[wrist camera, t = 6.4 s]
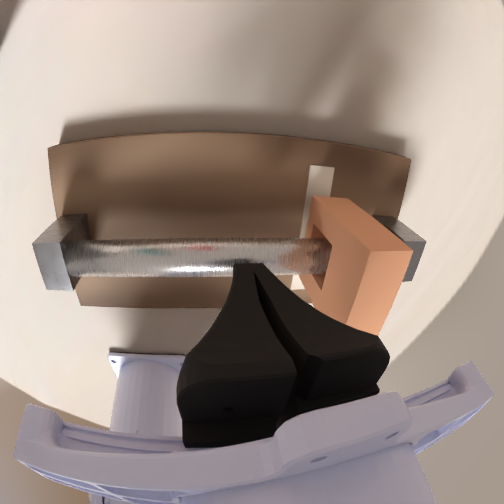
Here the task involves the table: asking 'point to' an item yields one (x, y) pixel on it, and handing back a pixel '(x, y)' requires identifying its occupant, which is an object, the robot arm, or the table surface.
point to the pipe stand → (184, 254)
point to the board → (209, 198)
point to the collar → (355, 264)
